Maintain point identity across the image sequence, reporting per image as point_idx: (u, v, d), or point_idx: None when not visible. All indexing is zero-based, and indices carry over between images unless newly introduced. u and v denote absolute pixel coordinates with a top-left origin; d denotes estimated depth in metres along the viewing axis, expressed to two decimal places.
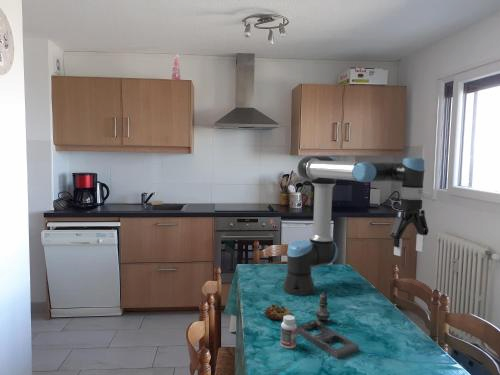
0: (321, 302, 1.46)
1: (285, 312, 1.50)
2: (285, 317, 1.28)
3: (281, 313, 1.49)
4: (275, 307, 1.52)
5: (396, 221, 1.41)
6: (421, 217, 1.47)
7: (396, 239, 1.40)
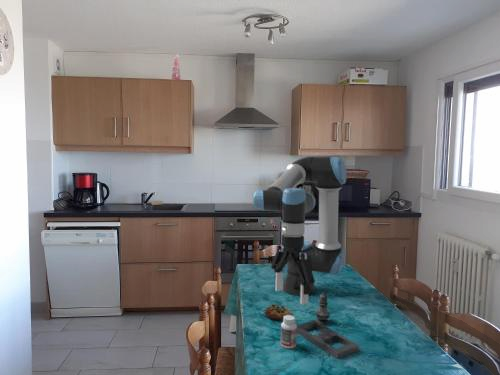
0: (321, 302, 1.46)
1: (285, 312, 1.50)
2: (285, 317, 1.28)
3: (281, 313, 1.49)
4: (275, 307, 1.52)
5: None
6: None
7: None
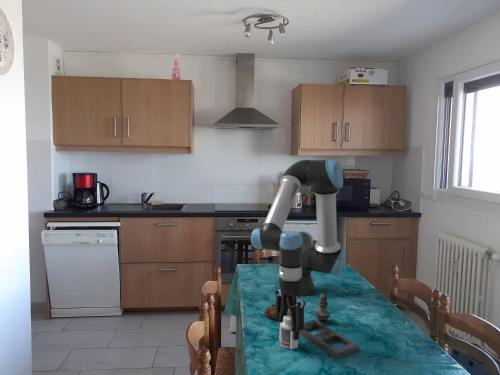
0: (321, 302, 1.46)
1: None
2: (285, 317, 1.28)
3: None
4: (275, 307, 1.52)
5: None
6: None
7: None
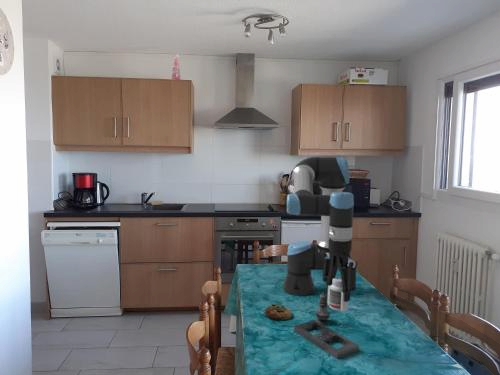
0: (321, 302, 1.46)
1: (285, 311, 1.50)
2: (334, 279, 1.26)
3: (281, 312, 1.50)
4: (275, 306, 1.52)
5: None
6: None
7: None
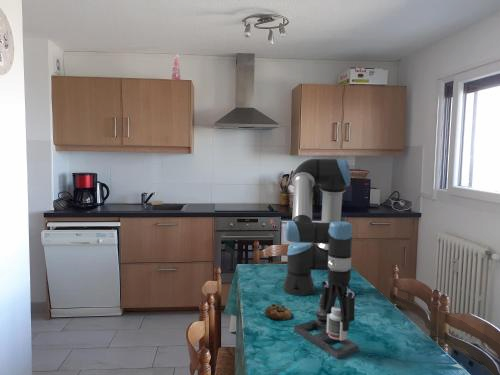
0: (321, 302, 1.46)
1: (285, 311, 1.50)
2: (333, 308, 1.26)
3: (281, 312, 1.50)
4: (275, 306, 1.53)
5: None
6: None
7: None
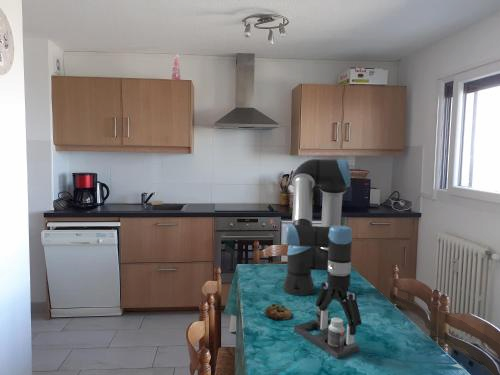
0: None
1: (285, 311, 1.50)
2: (333, 319, 1.27)
3: (281, 312, 1.50)
4: (275, 306, 1.53)
5: None
6: None
7: None
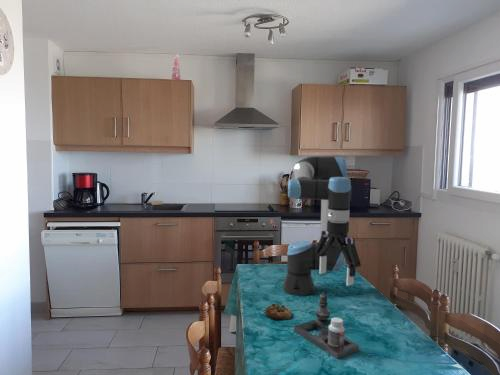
0: (321, 302, 1.46)
1: (285, 311, 1.51)
2: (333, 319, 1.27)
3: (281, 312, 1.50)
4: (275, 306, 1.53)
5: None
6: None
7: None
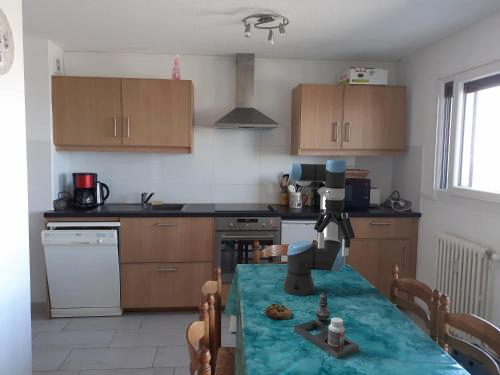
0: (321, 302, 1.46)
1: (285, 311, 1.51)
2: (333, 319, 1.27)
3: (281, 312, 1.50)
4: (275, 306, 1.53)
5: None
6: None
7: None
